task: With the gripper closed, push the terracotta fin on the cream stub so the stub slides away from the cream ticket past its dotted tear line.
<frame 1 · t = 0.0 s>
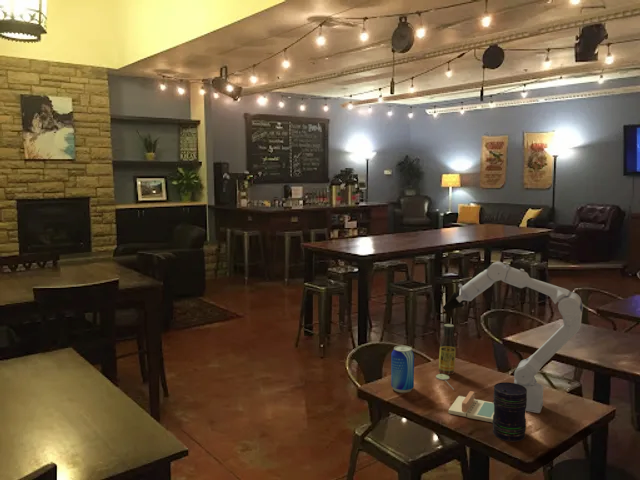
hand: (447, 307, 203), 32 cm above the table, tool tilted 50°, fingers open, 7 cm apart
ticket: (485, 412, 190), on the table
beer can: (402, 389, 211), on the table
dial probe thermometer: (447, 383, 217), on the table
stub: (462, 401, 193), point 2 cm above the table, slide at 0.0 cm
sauce bottle: (446, 373, 227), on the table
storage jar: (508, 434, 175), on the table
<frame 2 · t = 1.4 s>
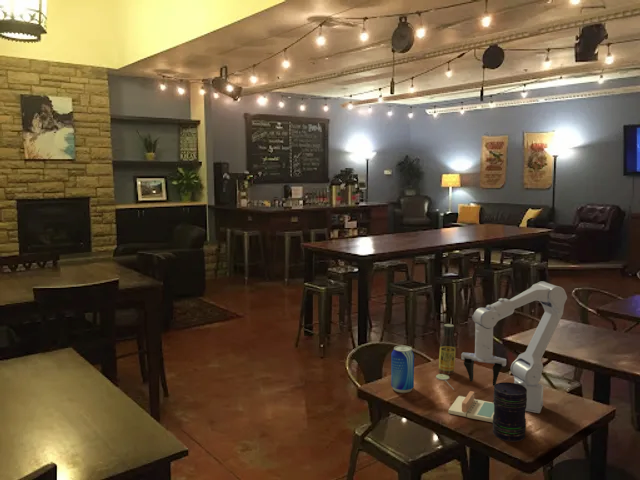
hand: (482, 382, 189), 10 cm above the table, tool pointing down, fingers open, 7 cm apart
nothing on the table moved.
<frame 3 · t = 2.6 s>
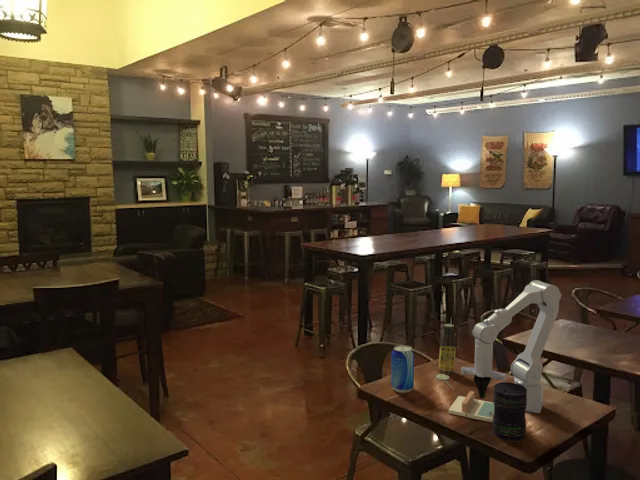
hand: (482, 397, 190), 5 cm above the table, tool pointing down, fingers closed
nothing on the table moved.
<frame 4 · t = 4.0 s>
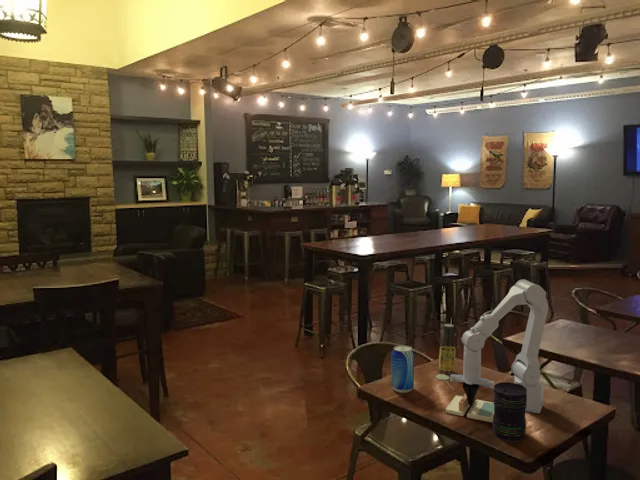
hand: (471, 404, 192), 2 cm above the table, tool pointing down, fingers closed
stub: (459, 401, 194), point 2 cm above the table, slide at 1.0 cm, touching gripper
everything else where it was.
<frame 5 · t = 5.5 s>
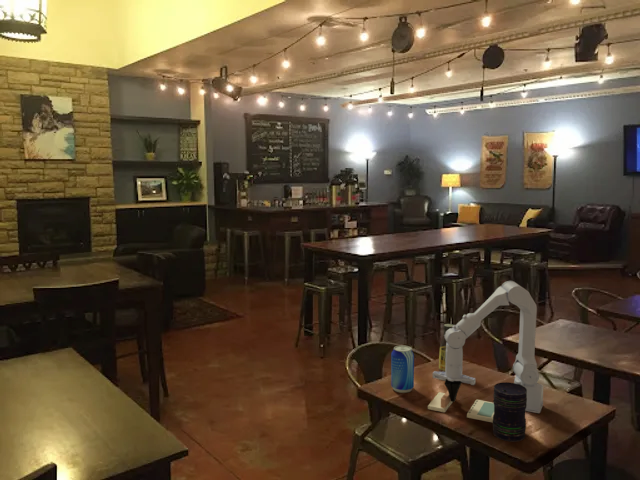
hand: (453, 400, 195), 2 cm above the table, tool pointing down, fingers closed
stub: (441, 397, 197), point 2 cm above the table, slide at 7.2 cm, touching gripper
everything else where it was.
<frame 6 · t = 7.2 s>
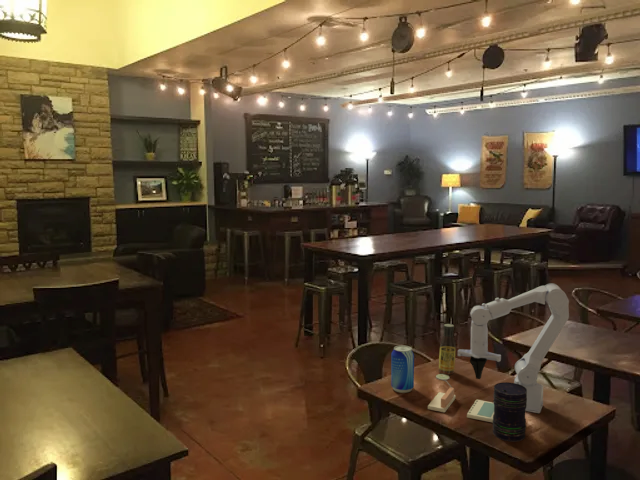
hand: (478, 377, 196), 9 cm above the table, tool pointing down, fingers closed
stub: (441, 397, 197), point 2 cm above the table, slide at 7.2 cm
everything else where it was.
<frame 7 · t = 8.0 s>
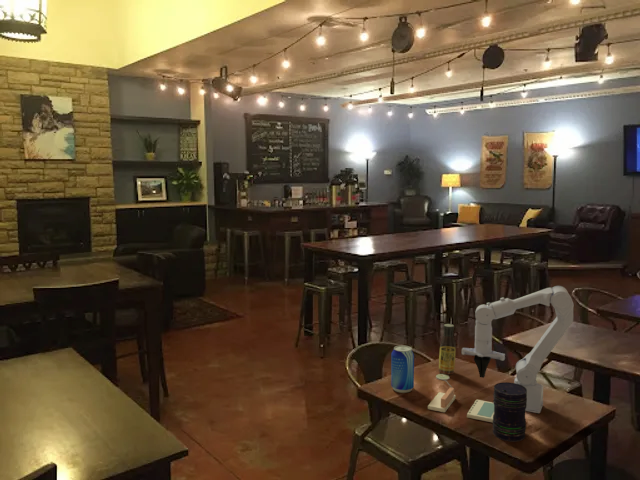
hand: (482, 376, 197), 9 cm above the table, tool pointing down, fingers closed
nothing on the table moved.
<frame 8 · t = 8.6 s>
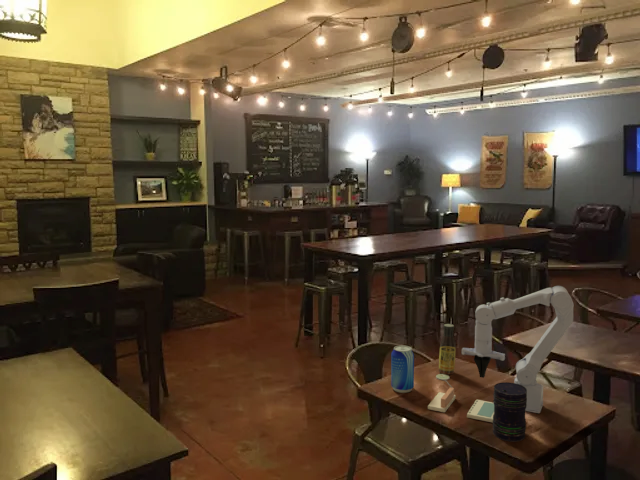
hand: (482, 376, 197), 9 cm above the table, tool pointing down, fingers closed
nothing on the table moved.
at the end: stub slide at 7.2 cm; dial probe thermometer moved 0.6 cm from its start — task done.
